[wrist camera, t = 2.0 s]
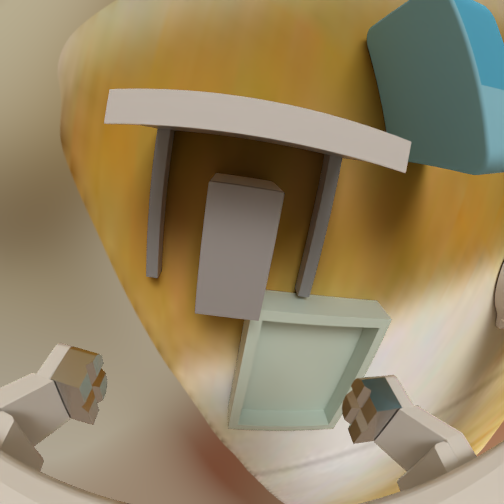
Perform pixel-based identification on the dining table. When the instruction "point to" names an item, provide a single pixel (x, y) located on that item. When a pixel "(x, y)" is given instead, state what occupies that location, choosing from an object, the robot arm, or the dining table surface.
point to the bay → (254, 128)
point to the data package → (443, 83)
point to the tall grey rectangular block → (237, 245)
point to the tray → (302, 360)
